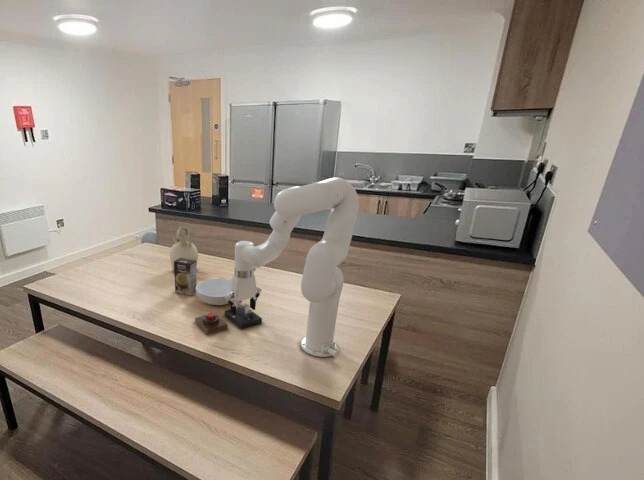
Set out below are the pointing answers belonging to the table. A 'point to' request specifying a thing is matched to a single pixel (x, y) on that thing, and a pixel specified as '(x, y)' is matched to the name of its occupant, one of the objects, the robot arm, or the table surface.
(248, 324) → the tap console
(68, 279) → the table surface
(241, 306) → the rotary selector knob
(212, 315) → the button
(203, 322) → the control block
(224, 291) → the serving bowl
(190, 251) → the jug
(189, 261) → the coffee box
